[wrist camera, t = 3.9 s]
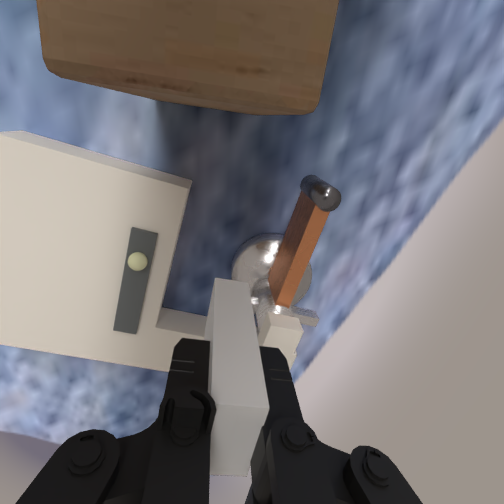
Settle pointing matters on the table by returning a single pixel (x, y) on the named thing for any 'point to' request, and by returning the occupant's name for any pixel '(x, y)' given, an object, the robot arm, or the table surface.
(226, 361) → the robot arm
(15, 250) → the stand
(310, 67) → the wooden block
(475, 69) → the table surface
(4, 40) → the table surface
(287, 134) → the table surface
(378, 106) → the table surface
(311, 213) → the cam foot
